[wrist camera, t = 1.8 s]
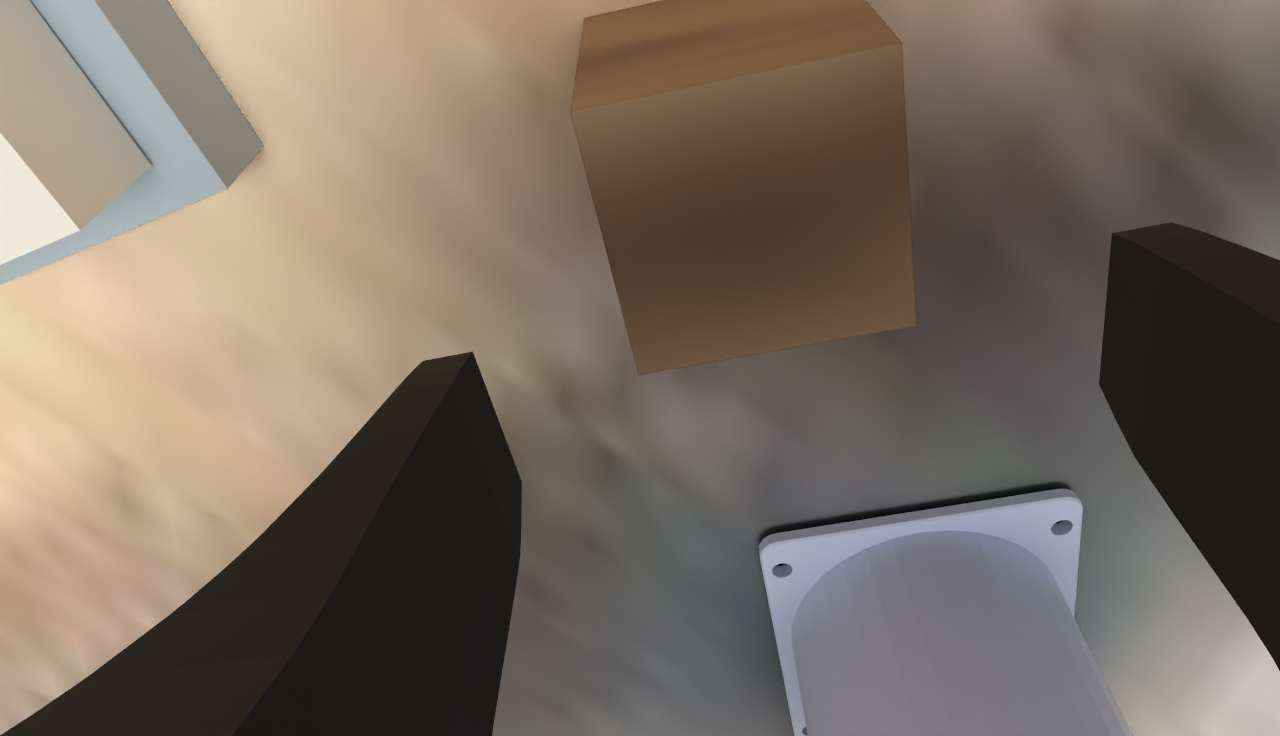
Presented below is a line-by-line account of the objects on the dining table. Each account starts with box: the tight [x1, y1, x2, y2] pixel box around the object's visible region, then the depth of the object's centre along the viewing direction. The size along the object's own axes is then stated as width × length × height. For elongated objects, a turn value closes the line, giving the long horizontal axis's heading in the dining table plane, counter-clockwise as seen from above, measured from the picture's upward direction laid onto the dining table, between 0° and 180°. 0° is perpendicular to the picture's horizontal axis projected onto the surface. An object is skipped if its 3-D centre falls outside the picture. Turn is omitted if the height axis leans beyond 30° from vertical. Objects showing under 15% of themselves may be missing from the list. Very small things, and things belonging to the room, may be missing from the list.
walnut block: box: [571, 0, 916, 375], centre depth 16 cm, size 4×4×5 cm
